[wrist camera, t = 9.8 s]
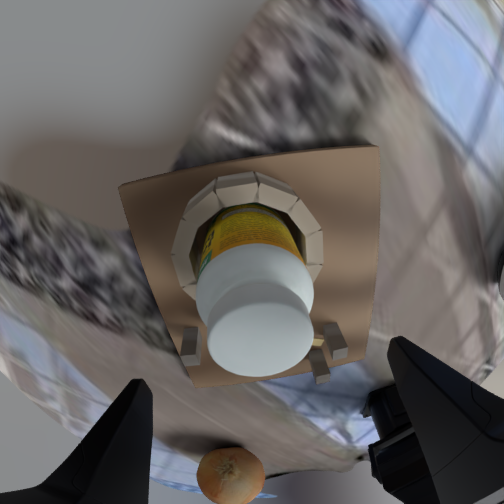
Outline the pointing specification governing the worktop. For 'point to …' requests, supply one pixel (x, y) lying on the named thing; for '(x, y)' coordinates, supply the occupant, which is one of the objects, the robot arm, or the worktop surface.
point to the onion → (230, 476)
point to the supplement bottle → (254, 292)
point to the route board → (300, 227)
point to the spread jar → (501, 275)
